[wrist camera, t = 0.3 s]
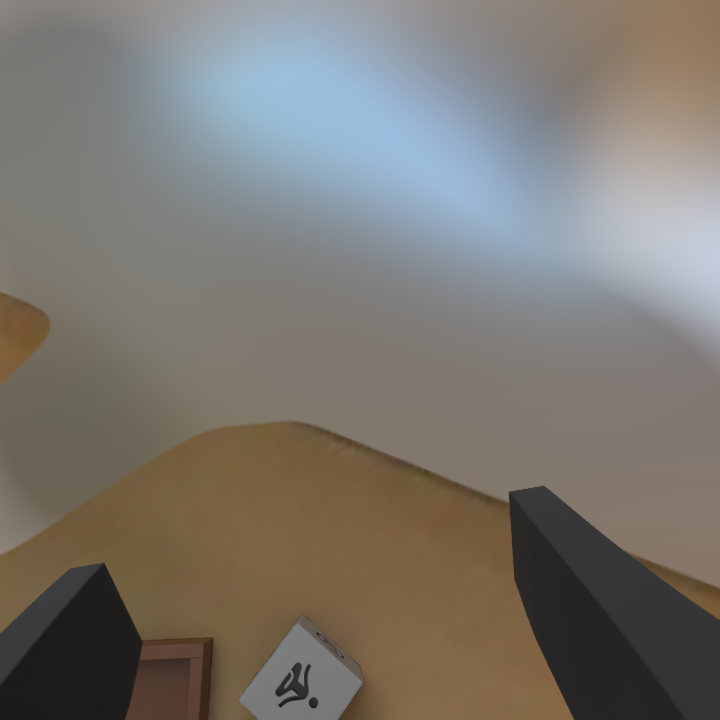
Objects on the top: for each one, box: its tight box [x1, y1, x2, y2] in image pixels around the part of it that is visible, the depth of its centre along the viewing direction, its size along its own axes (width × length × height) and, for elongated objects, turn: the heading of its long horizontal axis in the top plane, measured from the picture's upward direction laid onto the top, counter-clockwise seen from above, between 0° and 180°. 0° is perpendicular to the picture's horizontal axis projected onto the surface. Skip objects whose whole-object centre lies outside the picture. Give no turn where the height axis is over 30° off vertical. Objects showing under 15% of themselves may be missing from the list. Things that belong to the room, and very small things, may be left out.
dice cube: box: [239, 614, 363, 720], centre depth 32 cm, size 5×5×5 cm
